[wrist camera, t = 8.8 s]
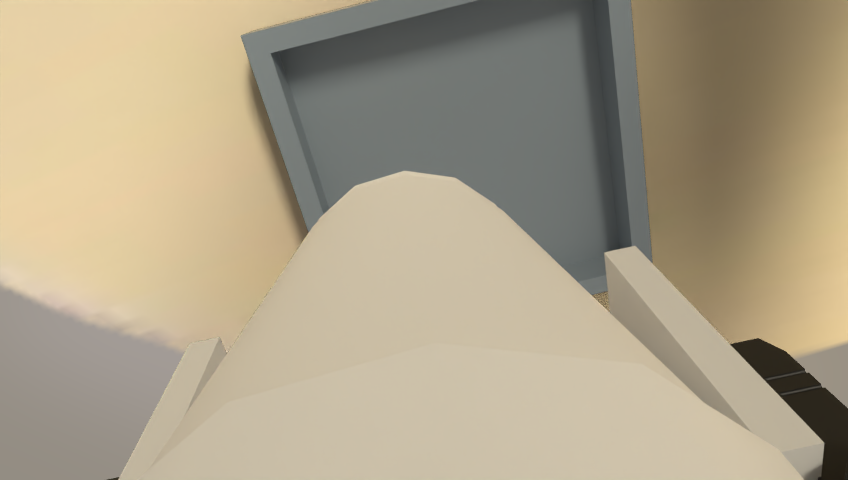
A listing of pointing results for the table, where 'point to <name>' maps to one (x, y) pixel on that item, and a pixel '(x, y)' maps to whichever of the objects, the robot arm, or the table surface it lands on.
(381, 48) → the slate tray
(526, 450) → the foam cup
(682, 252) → the table surface
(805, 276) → the table surface
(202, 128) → the table surface
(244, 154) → the table surface
